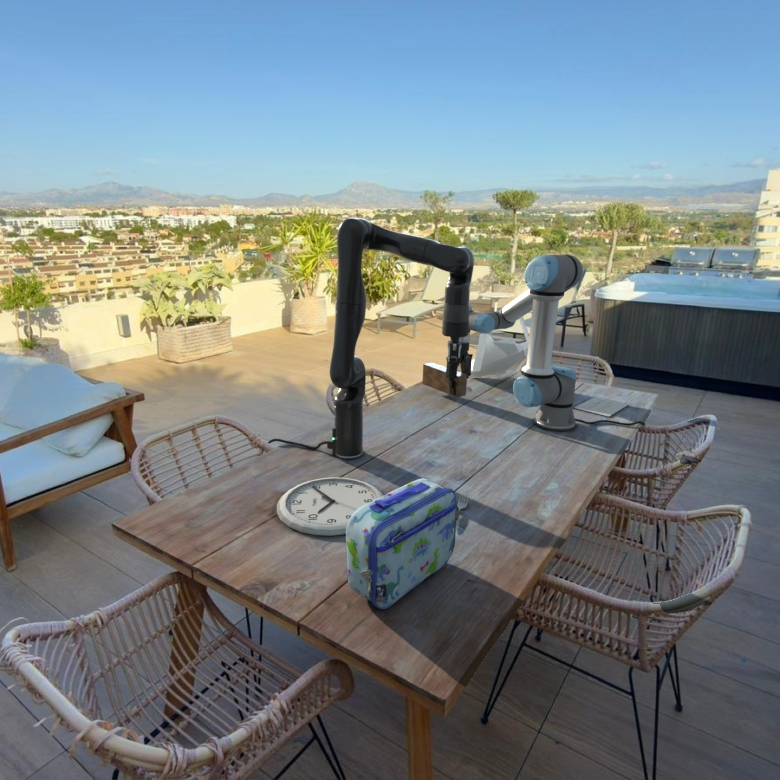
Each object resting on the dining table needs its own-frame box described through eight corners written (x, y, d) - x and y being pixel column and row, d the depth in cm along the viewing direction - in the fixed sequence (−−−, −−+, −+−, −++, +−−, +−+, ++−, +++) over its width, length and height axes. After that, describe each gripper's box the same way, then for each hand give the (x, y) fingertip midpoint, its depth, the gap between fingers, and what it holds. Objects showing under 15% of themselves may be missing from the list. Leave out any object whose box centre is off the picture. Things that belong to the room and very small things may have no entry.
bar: (465, 395, 229) (467, 374, 226) (456, 397, 226) (458, 376, 223) (431, 382, 247) (432, 362, 244) (422, 383, 243) (423, 364, 240)
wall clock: (392, 527, 129) (268, 531, 127) (391, 533, 130) (269, 537, 127) (383, 473, 158) (282, 475, 155) (383, 478, 158) (282, 480, 156)
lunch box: (375, 622, 100) (376, 527, 94) (339, 595, 108) (338, 505, 101) (459, 565, 118) (465, 481, 112) (424, 545, 125) (427, 465, 119)
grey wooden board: (608, 416, 214) (573, 407, 224) (608, 416, 214) (573, 408, 224) (628, 404, 229) (594, 396, 238) (628, 405, 229) (594, 397, 238)
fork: (445, 528, 132) (446, 521, 132) (459, 499, 147) (460, 493, 146) (455, 530, 132) (456, 523, 131) (468, 501, 146) (469, 494, 145)
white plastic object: (486, 418, 266) (465, 396, 241) (467, 346, 288) (447, 318, 263) (557, 395, 254) (543, 368, 229) (531, 321, 276) (517, 290, 251)
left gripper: (443, 314, 157) (440, 366, 161) (442, 322, 143) (439, 379, 148) (468, 315, 156) (465, 368, 161) (469, 323, 142) (466, 380, 147)
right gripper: (469, 337, 230) (466, 387, 237) (438, 342, 220) (435, 394, 227) (482, 340, 224) (478, 391, 232) (450, 345, 214) (447, 399, 221)
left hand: (452, 373), depth 154 cm, fingers open, 8 cm apart
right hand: (457, 393), depth 229 cm, fingers closed on bar, 5 cm apart
